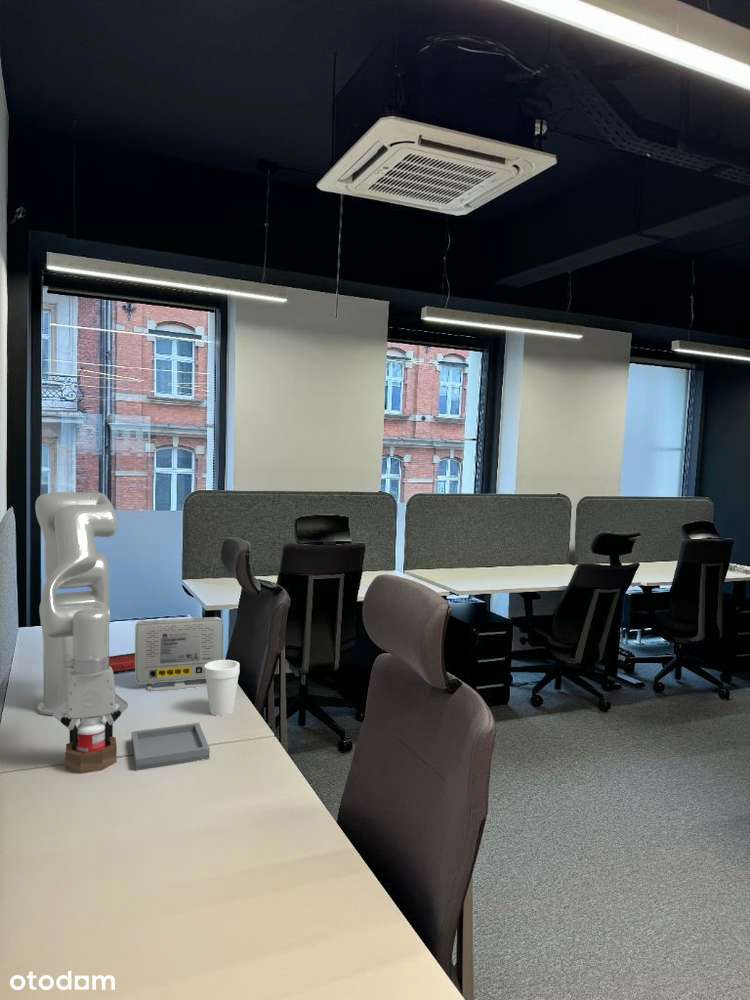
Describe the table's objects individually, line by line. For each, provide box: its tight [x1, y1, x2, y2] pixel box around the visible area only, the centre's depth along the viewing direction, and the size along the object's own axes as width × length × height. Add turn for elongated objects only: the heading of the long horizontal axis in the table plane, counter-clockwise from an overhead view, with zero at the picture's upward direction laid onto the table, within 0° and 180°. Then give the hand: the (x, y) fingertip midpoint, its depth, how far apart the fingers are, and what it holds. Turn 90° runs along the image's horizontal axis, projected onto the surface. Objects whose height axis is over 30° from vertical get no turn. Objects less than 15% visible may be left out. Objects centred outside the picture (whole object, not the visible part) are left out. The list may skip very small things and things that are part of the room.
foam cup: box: [205, 659, 241, 716], centre depth 180 cm, size 10×9×13 cm
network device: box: [134, 616, 224, 692], centre depth 200 cm, size 26×9×20 cm, turn 108°
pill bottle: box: [76, 716, 106, 753], centre depth 148 cm, size 6×6×11 cm
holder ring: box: [65, 736, 118, 774], centre depth 149 cm, size 10×10×4 cm
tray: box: [130, 722, 211, 771], centre depth 156 cm, size 16×16×2 cm
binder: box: [109, 652, 135, 674], centre depth 217 cm, size 16×2×21 cm
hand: (91, 741), depth 149 cm, fingers closed on pill bottle, 6 cm apart
